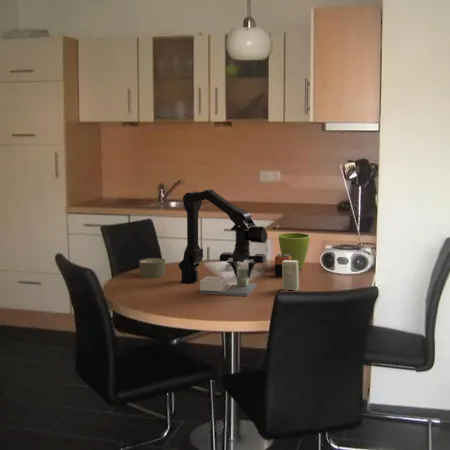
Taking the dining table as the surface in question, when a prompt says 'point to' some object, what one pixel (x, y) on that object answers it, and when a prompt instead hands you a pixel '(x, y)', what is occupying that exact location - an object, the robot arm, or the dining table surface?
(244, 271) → the peg
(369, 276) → the dining table surface
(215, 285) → the cover
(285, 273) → the skincare box
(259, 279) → the dining table surface
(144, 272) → the can
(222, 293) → the board
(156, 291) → the dining table surface
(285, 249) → the flower pot
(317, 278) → the dining table surface
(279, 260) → the battery
